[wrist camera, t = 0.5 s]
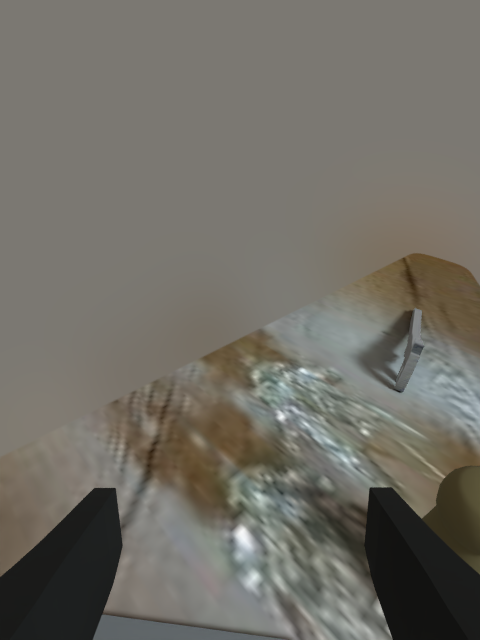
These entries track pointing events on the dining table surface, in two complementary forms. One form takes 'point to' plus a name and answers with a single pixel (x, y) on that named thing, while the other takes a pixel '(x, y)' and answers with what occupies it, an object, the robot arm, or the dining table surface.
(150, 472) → the dining table surface
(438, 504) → the cork
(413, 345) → the caliper
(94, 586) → the robot arm
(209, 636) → the charcoal board
